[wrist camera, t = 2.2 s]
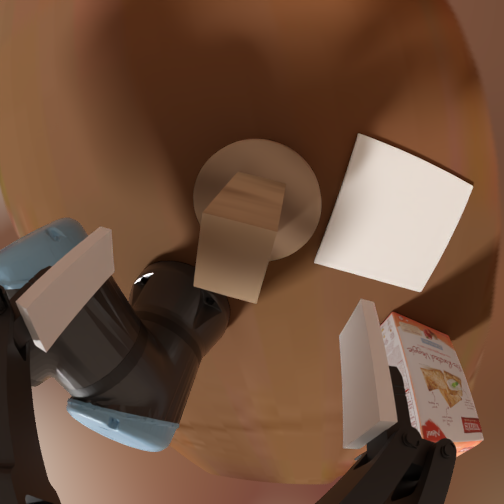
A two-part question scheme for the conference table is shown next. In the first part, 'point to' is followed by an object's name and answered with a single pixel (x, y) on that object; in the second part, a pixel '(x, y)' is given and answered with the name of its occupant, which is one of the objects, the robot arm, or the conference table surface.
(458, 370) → the cracker box
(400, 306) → the conference table surface
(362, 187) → the mat
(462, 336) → the conference table surface
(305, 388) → the conference table surface
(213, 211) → the lid
